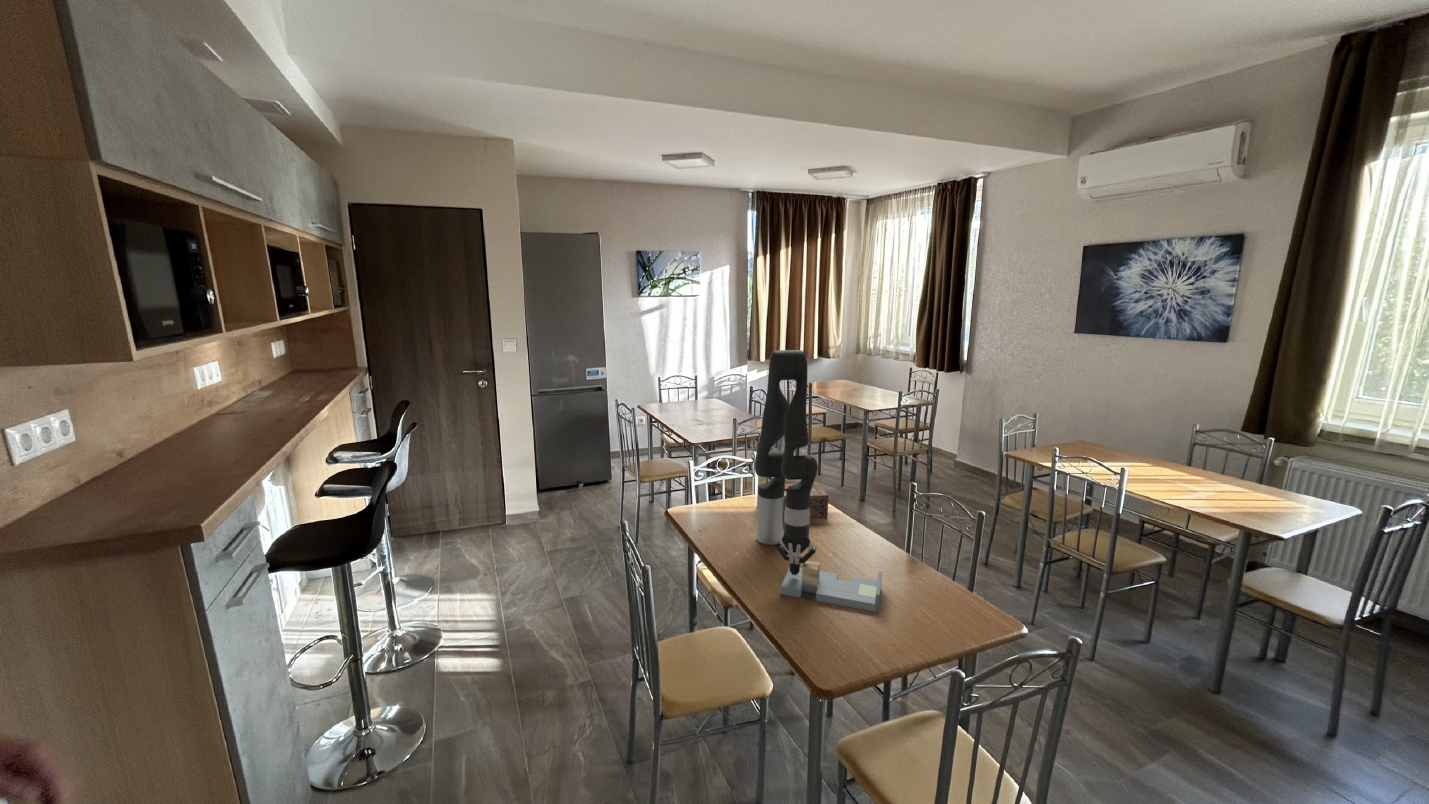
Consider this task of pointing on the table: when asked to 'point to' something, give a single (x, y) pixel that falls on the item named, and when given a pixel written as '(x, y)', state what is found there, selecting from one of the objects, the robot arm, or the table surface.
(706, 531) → the table surface
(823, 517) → the tissue box cover
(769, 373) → the robot arm
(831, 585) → the plate
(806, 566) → the beech block
